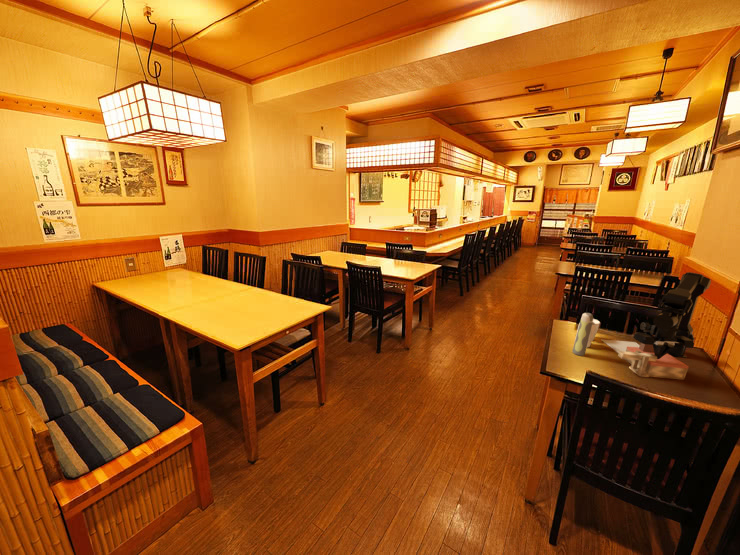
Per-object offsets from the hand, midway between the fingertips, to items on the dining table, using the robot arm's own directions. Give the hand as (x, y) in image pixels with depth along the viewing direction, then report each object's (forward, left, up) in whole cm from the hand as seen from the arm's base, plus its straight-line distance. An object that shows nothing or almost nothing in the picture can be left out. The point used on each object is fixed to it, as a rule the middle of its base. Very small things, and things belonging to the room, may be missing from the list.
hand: (656, 358), depth 125 cm
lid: (-4, -5, -2) cm, 6 cm away
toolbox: (-2, -4, -7) cm, 8 cm away
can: (+16, -23, -7) cm, 28 cm away
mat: (-5, -22, -7) cm, 23 cm away
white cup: (+10, -31, -7) cm, 33 cm away
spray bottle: (+23, -13, -7) cm, 27 cm away
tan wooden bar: (+7, 0, -1) cm, 8 cm away
